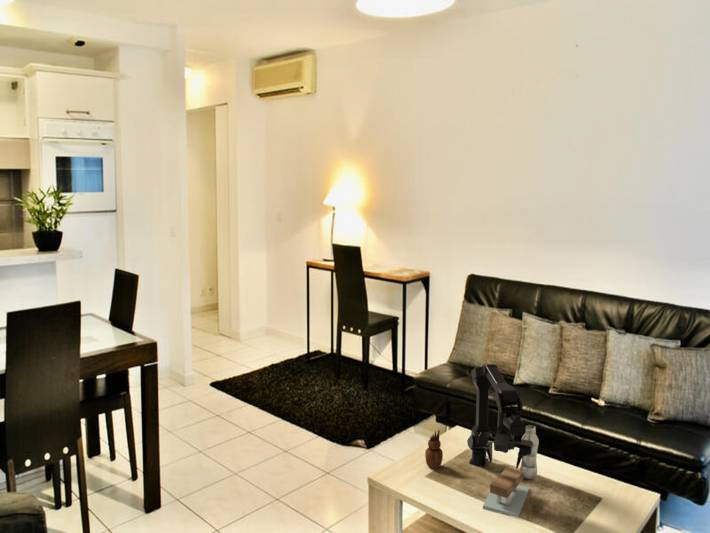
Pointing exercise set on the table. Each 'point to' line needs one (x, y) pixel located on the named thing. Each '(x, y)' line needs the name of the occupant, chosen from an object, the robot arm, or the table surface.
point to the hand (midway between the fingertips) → (503, 465)
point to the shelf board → (506, 482)
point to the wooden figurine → (434, 452)
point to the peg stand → (507, 502)
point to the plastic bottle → (530, 460)
